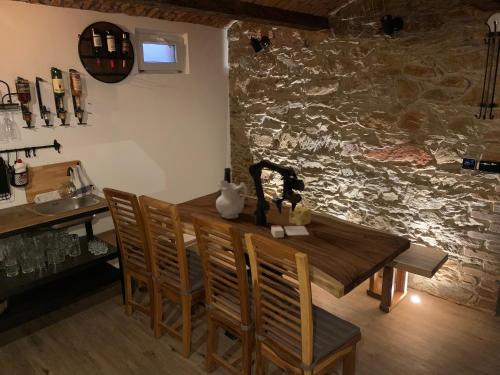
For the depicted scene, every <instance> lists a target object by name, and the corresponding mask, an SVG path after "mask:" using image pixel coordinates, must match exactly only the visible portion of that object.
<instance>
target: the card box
mask: <svg viewBox="0 0 500 375" xmlns="http://www.w3.org/2000/svg"><path fill="white" fill-rule="evenodd" d="M270 230H271V232H270V233H271V235H272V236H273V237H274V238H276V239H278V238H284V237H285V236H284V235H285V232H284V231H285V229H284V228H282V226H281V225H278V224H277V225H271V228H270Z"/></svg>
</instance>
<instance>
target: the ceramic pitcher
mask: <svg viewBox="0 0 500 375" xmlns="http://www.w3.org/2000/svg"><path fill="white" fill-rule="evenodd" d="M217 187H219V189H221V191H222V195H221V196H220V197H219V198H218V199H217V200H216V199H215V207H216V210H217V211H218V212H219V213H220V214H221V217H222V218H224V219H228V220H229V219H237V218H239V214H240V213H241V212H242V211H243V208H244V207H245V201H244V200H246V198H247V195H248V187H247V185H246V183H245V182H239V185H236V183H235V182H234V183H233V182H231V183H228V182H227V181H224V179H223V180H220V181H219V182H218V183H217ZM240 189H243V191H244V192H243V194H242V197H241V196H240V194H239V195H238V193H239V191H240Z"/></svg>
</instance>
